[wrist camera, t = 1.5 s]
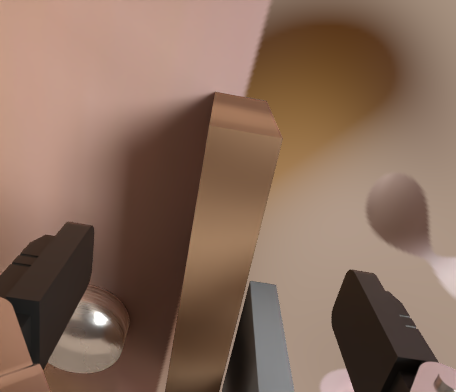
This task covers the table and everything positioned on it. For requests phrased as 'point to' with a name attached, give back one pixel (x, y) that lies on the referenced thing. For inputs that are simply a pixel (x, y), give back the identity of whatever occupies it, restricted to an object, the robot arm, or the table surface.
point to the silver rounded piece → (92, 334)
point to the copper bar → (222, 238)
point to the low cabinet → (259, 346)
